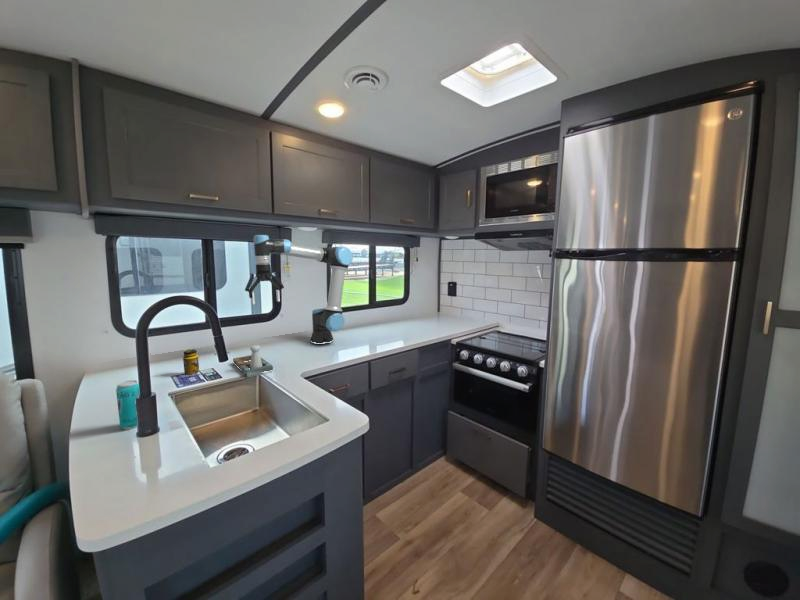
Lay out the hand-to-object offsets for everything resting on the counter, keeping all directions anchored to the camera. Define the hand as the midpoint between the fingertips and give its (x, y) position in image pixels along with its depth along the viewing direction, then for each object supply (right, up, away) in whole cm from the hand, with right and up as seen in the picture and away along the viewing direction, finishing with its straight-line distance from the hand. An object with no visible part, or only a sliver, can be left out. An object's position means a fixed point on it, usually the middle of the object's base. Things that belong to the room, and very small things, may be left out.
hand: (266, 302), depth 175 cm
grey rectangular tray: (-2, -34, -11) cm, 35 cm away
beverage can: (-16, -41, -69) cm, 82 cm away
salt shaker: (+2, -34, -16) cm, 38 cm away
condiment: (-28, -35, -21) cm, 50 cm away
